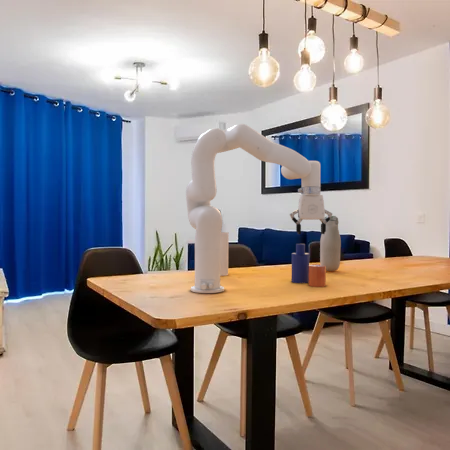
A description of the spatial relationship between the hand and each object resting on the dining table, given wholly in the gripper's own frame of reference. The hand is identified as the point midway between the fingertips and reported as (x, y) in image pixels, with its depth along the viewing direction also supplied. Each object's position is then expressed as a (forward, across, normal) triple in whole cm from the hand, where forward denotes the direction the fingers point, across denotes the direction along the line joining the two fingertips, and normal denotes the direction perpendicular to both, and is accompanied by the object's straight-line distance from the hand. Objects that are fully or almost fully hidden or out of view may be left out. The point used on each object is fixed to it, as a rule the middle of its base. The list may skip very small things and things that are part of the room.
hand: (310, 233), depth 177 cm
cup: (+21, +2, -2) cm, 21 cm away
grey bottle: (+21, +19, +41) cm, 50 cm away
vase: (+21, -37, +31) cm, 53 cm away
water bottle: (+21, -3, +7) cm, 22 cm away
